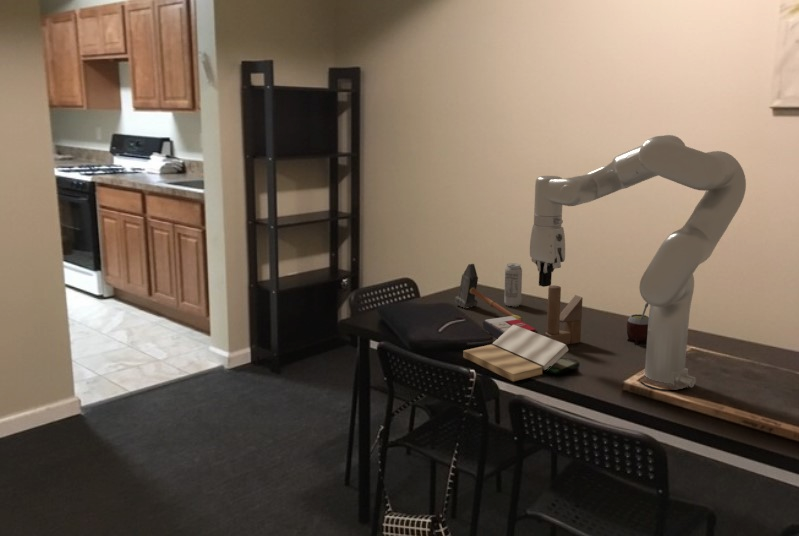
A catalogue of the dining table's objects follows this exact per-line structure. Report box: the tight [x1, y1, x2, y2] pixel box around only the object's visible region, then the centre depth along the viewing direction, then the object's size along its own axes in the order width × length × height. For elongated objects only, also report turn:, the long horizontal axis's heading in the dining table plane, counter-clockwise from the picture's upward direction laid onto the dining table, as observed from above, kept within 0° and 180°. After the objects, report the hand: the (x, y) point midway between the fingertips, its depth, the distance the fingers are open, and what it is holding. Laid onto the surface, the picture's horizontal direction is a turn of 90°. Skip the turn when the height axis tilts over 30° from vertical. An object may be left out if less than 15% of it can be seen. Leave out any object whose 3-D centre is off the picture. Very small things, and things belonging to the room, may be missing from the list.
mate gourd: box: [626, 302, 649, 346], centre depth 211 cm, size 8×8×15 cm
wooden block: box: [543, 285, 583, 345], centre depth 211 cm, size 4×11×18 cm, turn 111°
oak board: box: [462, 344, 543, 382], centre depth 194 cm, size 22×10×2 cm, turn 31°
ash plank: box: [491, 324, 569, 371], centre depth 199 cm, size 22×9×2 cm
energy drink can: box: [503, 262, 523, 307], centre depth 253 cm, size 6×6×15 cm
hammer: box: [454, 263, 524, 322], centre depth 242 cm, size 6×16×30 cm
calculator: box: [482, 316, 539, 339], centre depth 221 cm, size 11×4×15 cm
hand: (544, 285), depth 198 cm, fingers closed
